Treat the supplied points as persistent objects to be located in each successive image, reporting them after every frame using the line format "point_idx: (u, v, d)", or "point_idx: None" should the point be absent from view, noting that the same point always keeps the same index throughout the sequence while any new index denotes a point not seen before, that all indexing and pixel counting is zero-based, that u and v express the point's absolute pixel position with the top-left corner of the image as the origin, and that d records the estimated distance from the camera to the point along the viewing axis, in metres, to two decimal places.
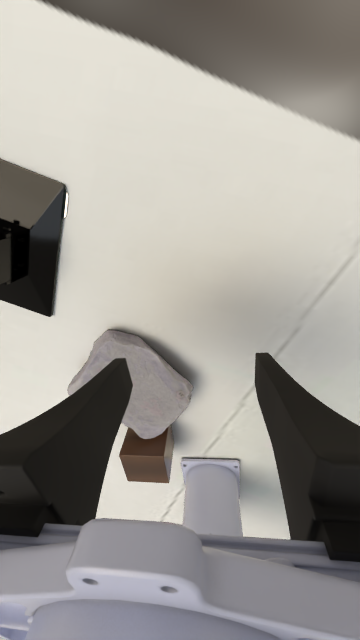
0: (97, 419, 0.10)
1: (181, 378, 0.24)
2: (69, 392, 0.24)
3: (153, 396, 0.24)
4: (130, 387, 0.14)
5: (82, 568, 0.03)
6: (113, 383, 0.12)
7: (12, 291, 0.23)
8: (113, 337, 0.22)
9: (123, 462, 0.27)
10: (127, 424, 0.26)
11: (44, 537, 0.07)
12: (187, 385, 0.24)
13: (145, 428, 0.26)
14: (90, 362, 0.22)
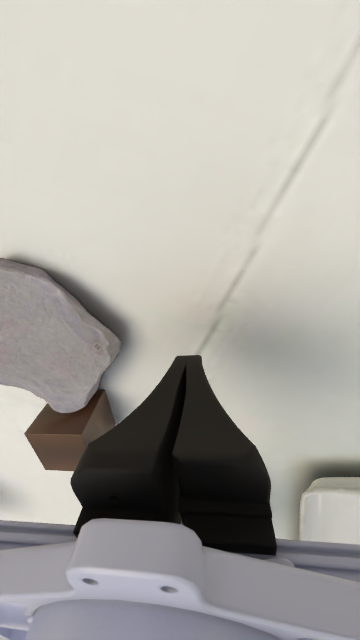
0: (178, 419, 0.10)
1: (96, 324, 0.17)
2: None
3: (57, 348, 0.17)
4: None
5: (82, 568, 0.03)
6: (184, 381, 0.11)
7: None
8: None
9: (32, 444, 0.20)
10: (36, 393, 0.20)
11: None
12: (104, 333, 0.17)
13: (58, 397, 0.19)
14: None
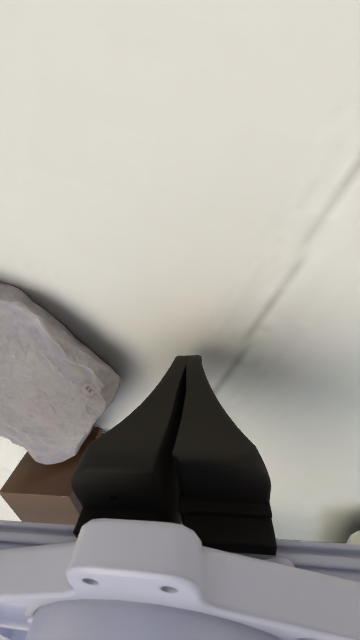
0: (178, 419, 0.10)
1: (87, 360, 0.13)
2: None
3: (37, 392, 0.13)
4: None
5: (82, 568, 0.03)
6: (184, 381, 0.11)
7: None
8: None
9: (10, 503, 0.16)
10: (14, 440, 0.16)
11: None
12: (97, 372, 0.13)
13: (41, 447, 0.15)
14: None
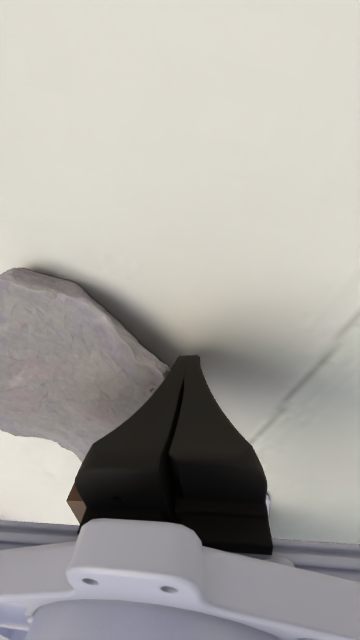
0: None
1: (153, 360, 0.12)
2: None
3: (99, 395, 0.12)
4: None
5: (82, 569, 0.03)
6: None
7: None
8: (13, 274, 0.11)
9: (75, 512, 0.15)
10: (63, 444, 0.15)
11: None
12: (164, 373, 0.12)
13: None
14: None
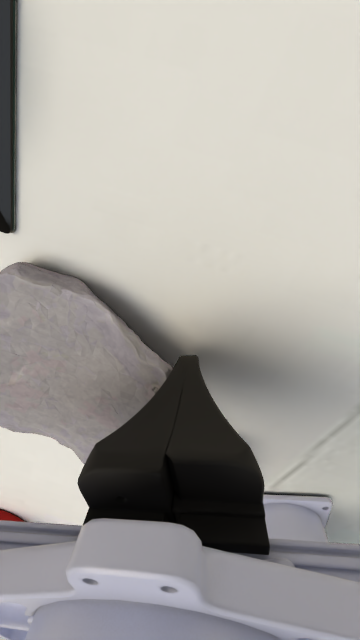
0: None
1: (157, 359, 0.12)
2: None
3: (101, 392, 0.12)
4: None
5: (82, 568, 0.03)
6: None
7: None
8: (17, 268, 0.11)
9: None
10: (62, 441, 0.15)
11: None
12: (167, 372, 0.12)
13: None
14: None
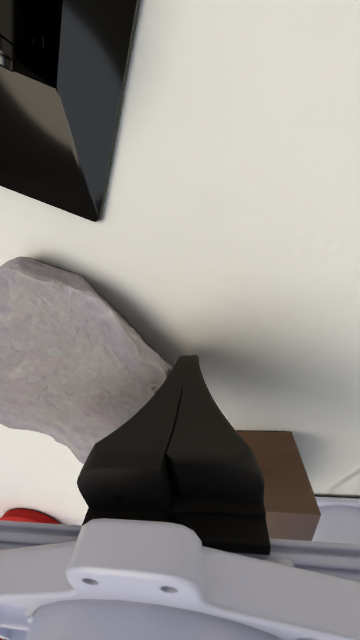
0: None
1: (157, 359, 0.12)
2: None
3: (100, 390, 0.12)
4: None
5: (82, 568, 0.03)
6: None
7: (16, 152, 0.10)
8: (19, 263, 0.11)
9: None
10: (58, 439, 0.15)
11: None
12: (167, 372, 0.12)
13: (89, 448, 0.14)
14: None
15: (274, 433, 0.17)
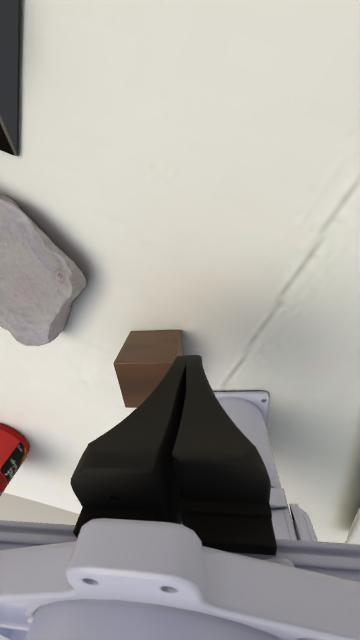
0: (178, 419, 0.10)
1: (60, 252, 0.18)
2: None
3: (21, 274, 0.18)
4: None
5: (82, 568, 0.03)
6: (184, 381, 0.11)
7: None
8: None
9: (119, 375, 0.20)
10: (1, 323, 0.21)
11: None
12: (67, 261, 0.18)
13: (21, 327, 0.20)
14: None
15: (168, 331, 0.23)
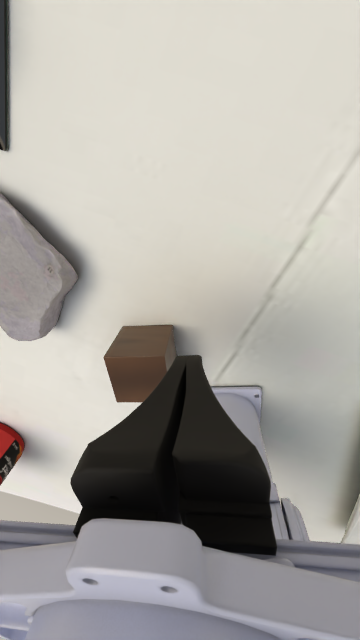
0: (178, 419, 0.10)
1: (49, 247, 0.18)
2: None
3: (11, 268, 0.18)
4: None
5: (82, 568, 0.03)
6: (184, 381, 0.11)
7: None
8: None
9: (109, 370, 0.20)
10: None
11: None
12: (56, 256, 0.18)
13: (13, 322, 0.20)
14: None
15: (159, 325, 0.23)
